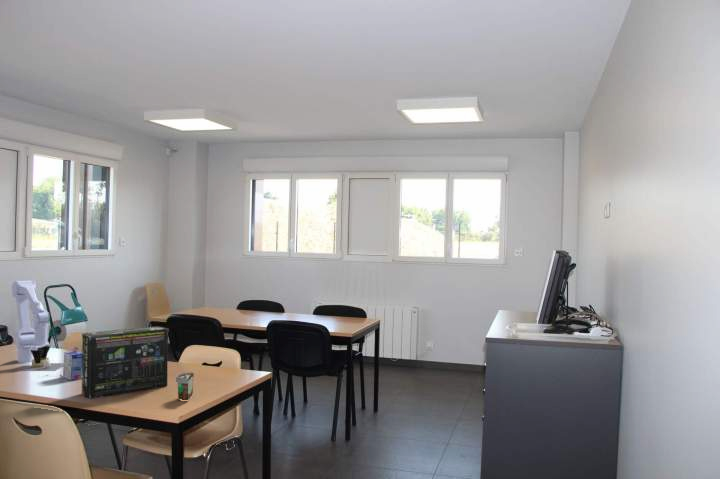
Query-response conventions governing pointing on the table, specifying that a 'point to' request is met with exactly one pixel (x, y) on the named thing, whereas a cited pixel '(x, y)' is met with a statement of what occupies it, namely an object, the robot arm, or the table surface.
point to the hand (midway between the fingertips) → (40, 362)
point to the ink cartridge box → (72, 365)
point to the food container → (185, 385)
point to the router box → (124, 361)
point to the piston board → (53, 365)
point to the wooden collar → (41, 364)
